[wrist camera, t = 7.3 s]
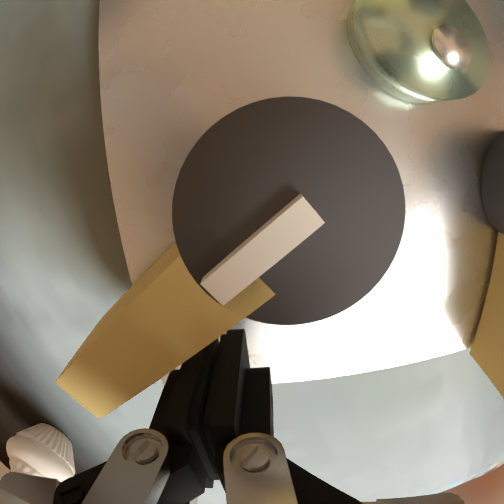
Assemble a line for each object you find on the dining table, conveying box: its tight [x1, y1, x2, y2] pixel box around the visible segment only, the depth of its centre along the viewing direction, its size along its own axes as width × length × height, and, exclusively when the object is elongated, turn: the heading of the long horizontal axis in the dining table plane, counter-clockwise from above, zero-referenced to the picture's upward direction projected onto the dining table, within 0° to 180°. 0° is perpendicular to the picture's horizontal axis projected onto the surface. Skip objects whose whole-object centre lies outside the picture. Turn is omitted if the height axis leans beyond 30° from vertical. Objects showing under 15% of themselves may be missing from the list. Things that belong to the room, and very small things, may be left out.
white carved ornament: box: [6, 423, 75, 482], centre depth 14 cm, size 6×6×7 cm
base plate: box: [99, 0, 504, 386], centre depth 8 cm, size 22×20×4 cm
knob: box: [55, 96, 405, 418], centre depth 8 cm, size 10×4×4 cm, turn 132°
